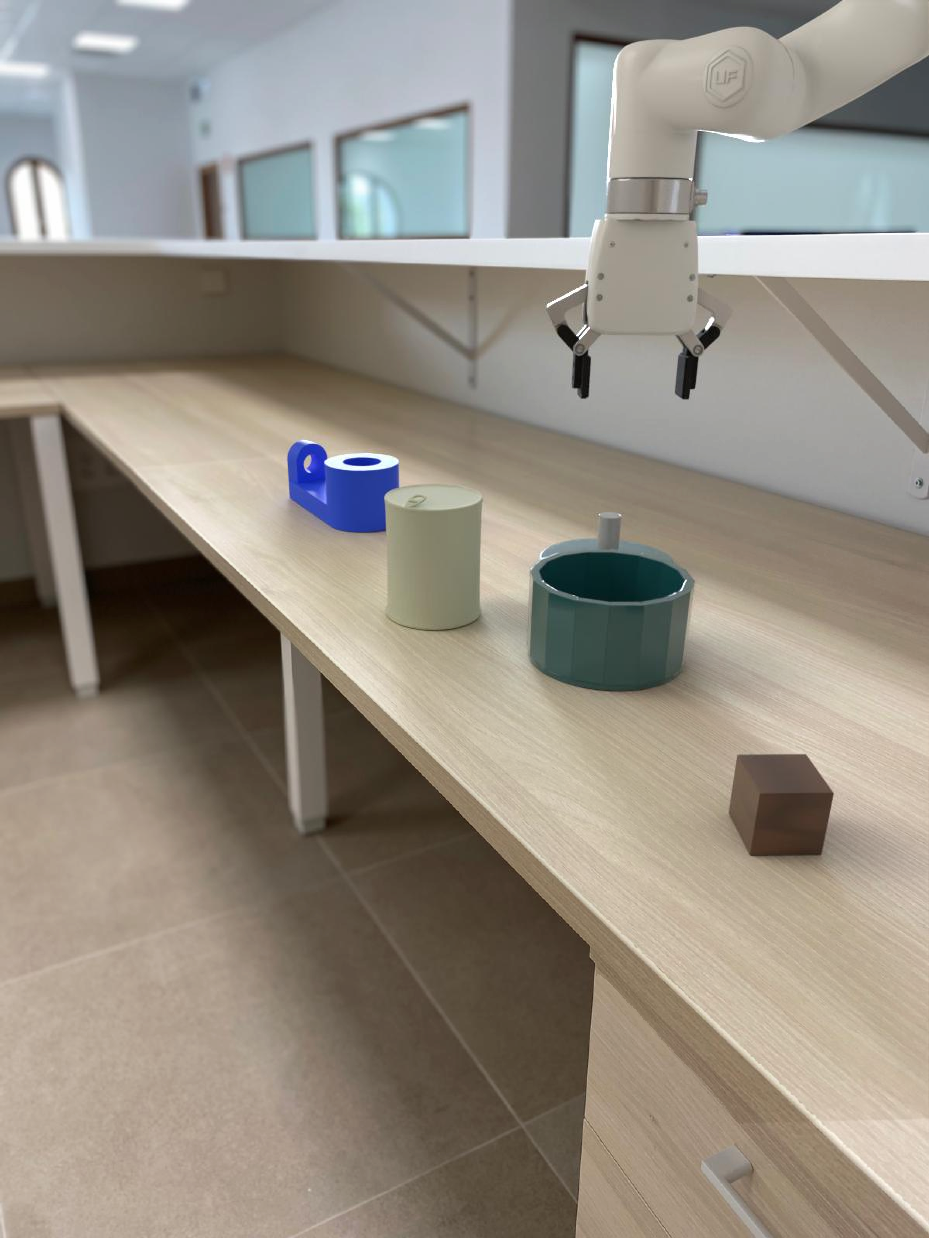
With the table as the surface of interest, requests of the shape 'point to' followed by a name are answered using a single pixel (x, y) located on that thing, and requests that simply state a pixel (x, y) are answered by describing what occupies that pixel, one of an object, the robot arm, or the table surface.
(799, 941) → the table surface
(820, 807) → the block
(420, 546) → the can
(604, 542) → the lid
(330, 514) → the bracket
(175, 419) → the table surface
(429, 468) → the table surface
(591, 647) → the bowl
